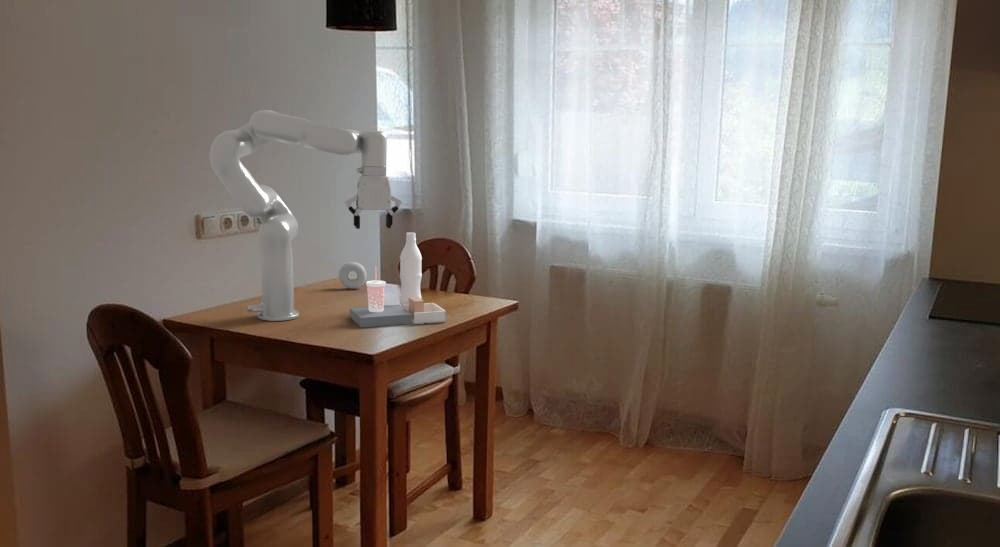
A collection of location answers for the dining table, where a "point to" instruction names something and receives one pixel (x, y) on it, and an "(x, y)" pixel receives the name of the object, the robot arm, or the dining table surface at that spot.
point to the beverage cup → (376, 294)
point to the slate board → (381, 316)
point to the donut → (346, 280)
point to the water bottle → (410, 270)
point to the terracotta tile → (415, 305)
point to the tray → (429, 314)
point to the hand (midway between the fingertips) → (373, 228)
